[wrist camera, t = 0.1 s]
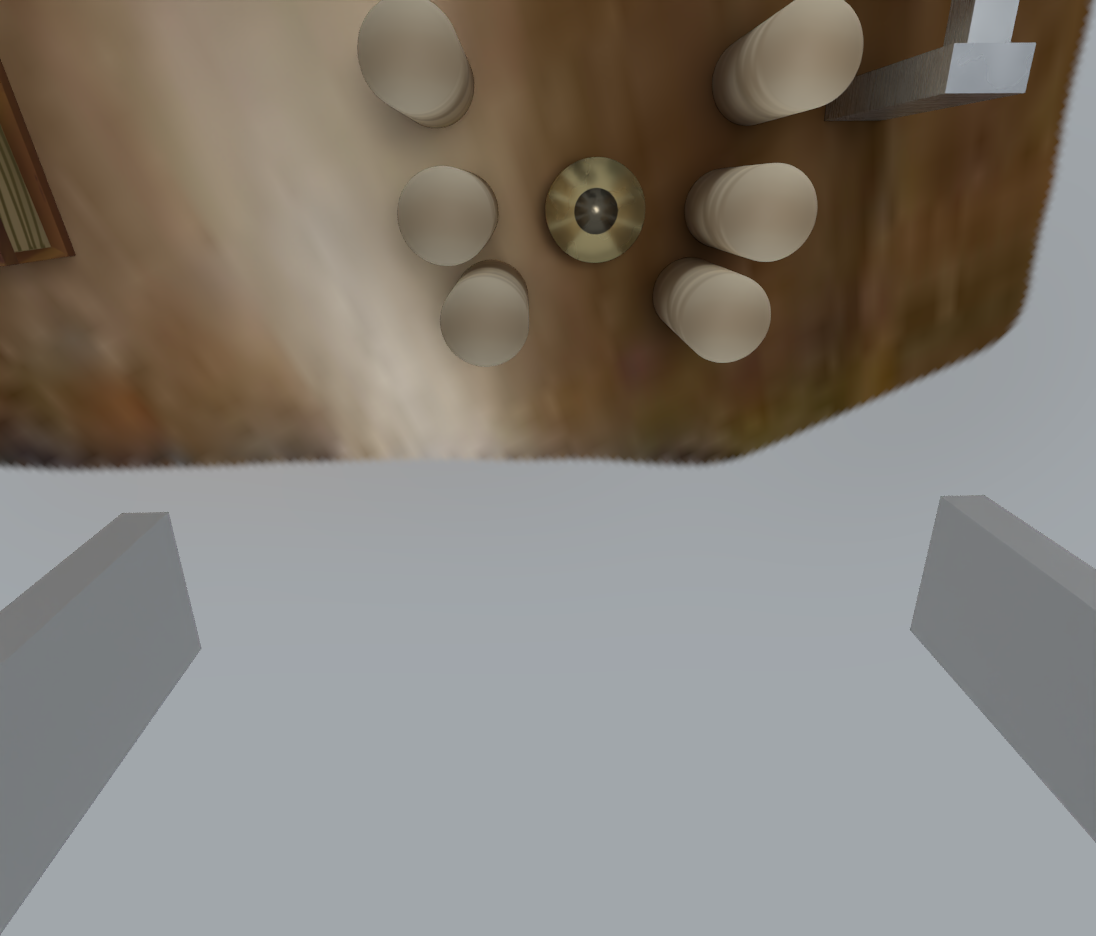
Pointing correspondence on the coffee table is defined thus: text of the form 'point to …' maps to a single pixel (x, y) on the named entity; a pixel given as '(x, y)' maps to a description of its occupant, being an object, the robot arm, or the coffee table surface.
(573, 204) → the brass round knob
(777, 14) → the posts
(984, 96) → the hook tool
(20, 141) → the diary
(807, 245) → the coffee table surface
